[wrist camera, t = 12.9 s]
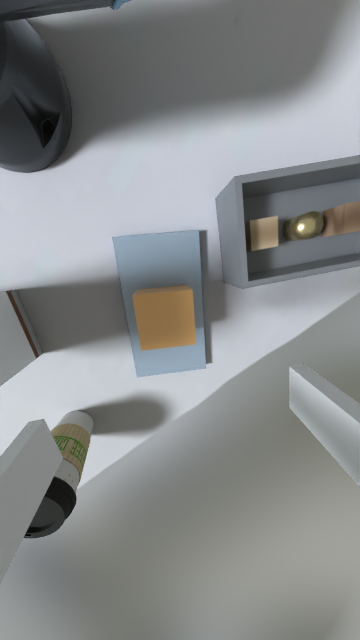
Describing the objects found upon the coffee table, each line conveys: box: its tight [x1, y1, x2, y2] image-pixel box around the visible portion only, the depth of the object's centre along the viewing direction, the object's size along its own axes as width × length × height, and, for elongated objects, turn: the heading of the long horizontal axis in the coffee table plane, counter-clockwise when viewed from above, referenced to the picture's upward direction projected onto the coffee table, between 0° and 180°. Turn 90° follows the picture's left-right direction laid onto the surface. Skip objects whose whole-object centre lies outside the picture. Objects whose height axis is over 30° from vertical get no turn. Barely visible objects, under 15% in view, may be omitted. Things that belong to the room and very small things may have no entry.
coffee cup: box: [24, 411, 94, 538], centre depth 32 cm, size 10×10×15 cm
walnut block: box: [322, 201, 360, 237], centre depth 30 cm, size 4×4×4 cm
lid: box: [112, 230, 206, 377], centre depth 30 cm, size 13×24×8 cm, turn 5°
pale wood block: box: [244, 216, 278, 252], centre depth 29 cm, size 4×4×4 cm
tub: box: [215, 155, 360, 289], centre depth 28 cm, size 13×24×8 cm, turn 100°
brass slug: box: [282, 211, 323, 242], centre depth 29 cm, size 4×4×4 cm
